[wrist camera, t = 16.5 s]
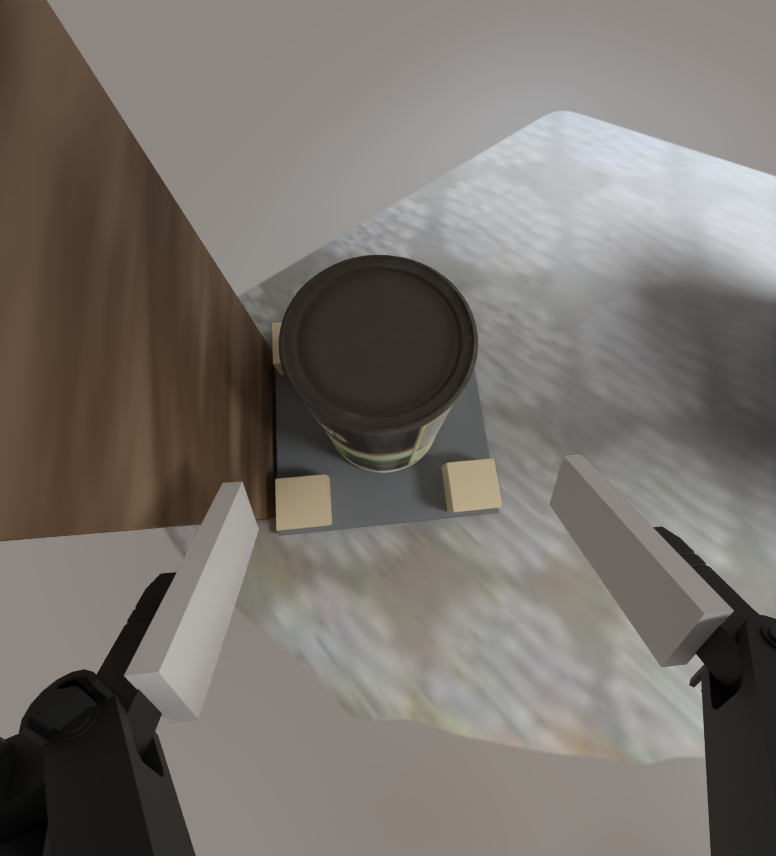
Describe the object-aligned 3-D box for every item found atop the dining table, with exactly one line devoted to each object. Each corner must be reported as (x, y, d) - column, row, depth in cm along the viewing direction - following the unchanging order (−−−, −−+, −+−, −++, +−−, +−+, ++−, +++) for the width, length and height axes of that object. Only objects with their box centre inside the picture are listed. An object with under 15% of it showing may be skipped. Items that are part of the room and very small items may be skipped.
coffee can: (355, 494, 29) (324, 469, 15) (310, 393, 32) (249, 296, 18) (460, 443, 30) (517, 378, 17) (408, 350, 33) (421, 227, 19)
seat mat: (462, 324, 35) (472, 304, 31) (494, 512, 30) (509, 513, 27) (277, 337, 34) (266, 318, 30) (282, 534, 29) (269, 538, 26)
